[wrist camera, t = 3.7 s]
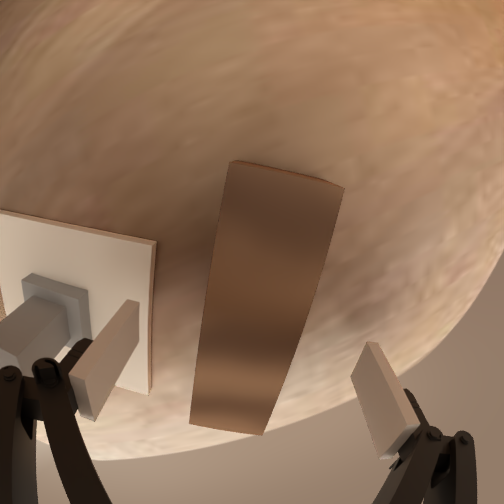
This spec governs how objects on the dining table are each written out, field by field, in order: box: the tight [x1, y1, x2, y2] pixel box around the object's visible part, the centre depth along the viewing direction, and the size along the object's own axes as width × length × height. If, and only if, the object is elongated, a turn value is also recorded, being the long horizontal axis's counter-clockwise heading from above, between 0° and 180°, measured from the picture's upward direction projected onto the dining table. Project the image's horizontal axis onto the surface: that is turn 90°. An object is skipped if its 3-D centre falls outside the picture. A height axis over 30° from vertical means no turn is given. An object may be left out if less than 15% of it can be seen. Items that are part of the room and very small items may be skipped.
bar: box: [189, 160, 345, 435], centre depth 18 cm, size 18×6×5 cm, turn 168°
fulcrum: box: [0, 209, 157, 396], centre depth 17 cm, size 14×16×9 cm
